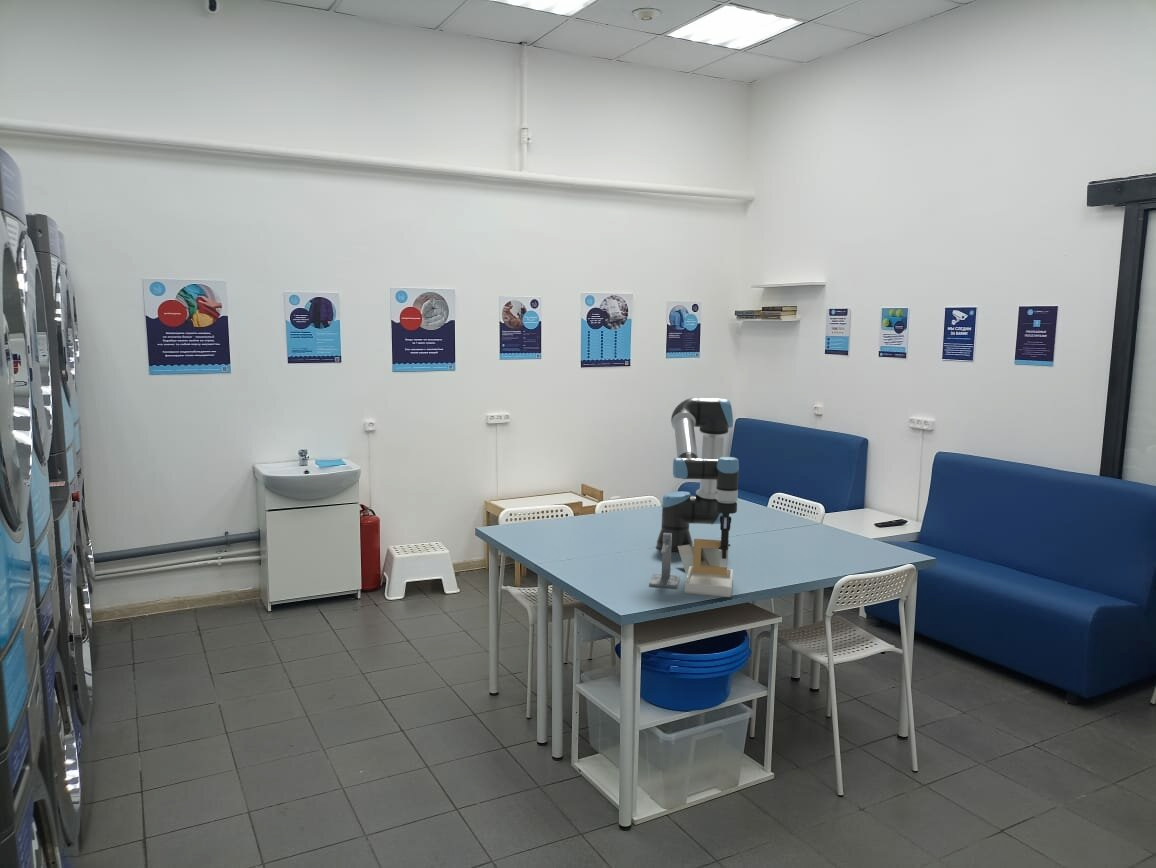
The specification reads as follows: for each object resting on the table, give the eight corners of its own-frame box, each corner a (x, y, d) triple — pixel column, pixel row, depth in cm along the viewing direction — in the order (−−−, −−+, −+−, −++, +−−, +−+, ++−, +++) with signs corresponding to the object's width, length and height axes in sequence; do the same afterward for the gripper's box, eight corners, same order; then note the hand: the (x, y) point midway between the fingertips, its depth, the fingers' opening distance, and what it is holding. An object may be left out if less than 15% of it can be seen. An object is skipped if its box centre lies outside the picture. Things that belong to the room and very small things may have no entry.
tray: (689, 575, 304) (689, 566, 303) (732, 578, 301) (732, 569, 300) (684, 593, 283) (684, 583, 282) (731, 597, 279) (731, 587, 279)
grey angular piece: (726, 579, 314) (716, 546, 323) (728, 567, 307) (717, 534, 317) (684, 585, 313) (675, 553, 322) (685, 574, 306) (676, 541, 316)
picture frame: (693, 571, 293) (694, 538, 292) (727, 573, 291) (728, 541, 289) (692, 573, 291) (694, 540, 289) (726, 575, 288) (728, 542, 287)
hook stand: (652, 576, 302) (654, 531, 300) (679, 578, 300) (681, 533, 298) (647, 589, 287) (649, 542, 284) (676, 591, 285) (677, 544, 282)
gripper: (716, 496, 295) (714, 559, 298) (714, 504, 280) (712, 571, 283) (737, 497, 294) (734, 560, 296) (736, 506, 278) (734, 572, 281)
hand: (723, 565), depth 289 cm, fingers closed on picture frame, 2 cm apart
